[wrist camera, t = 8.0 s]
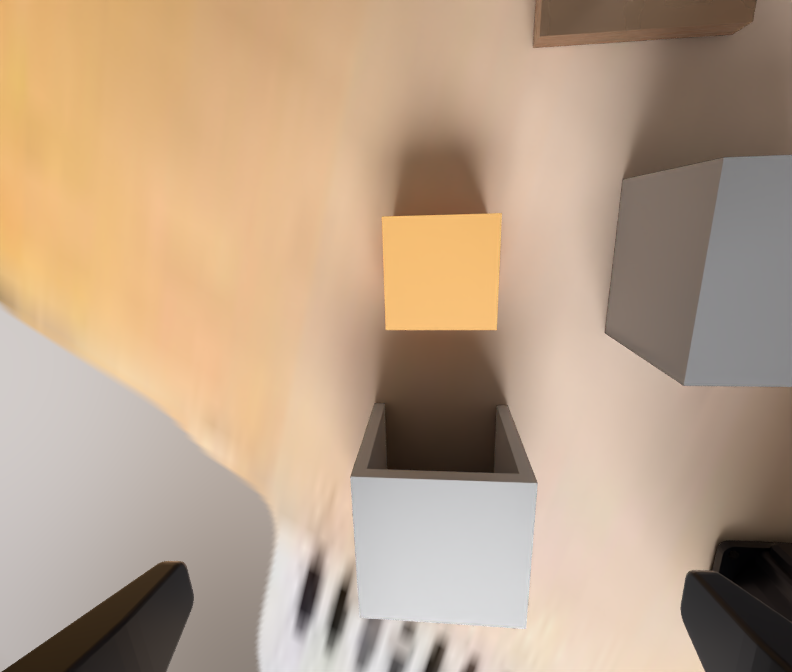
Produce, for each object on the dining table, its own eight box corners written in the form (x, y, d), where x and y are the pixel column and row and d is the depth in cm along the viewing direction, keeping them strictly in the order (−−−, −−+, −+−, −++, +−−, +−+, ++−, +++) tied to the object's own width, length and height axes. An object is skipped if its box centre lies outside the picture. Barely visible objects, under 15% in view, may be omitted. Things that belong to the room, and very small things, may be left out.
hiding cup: (501, 518, 21) (525, 628, 15) (379, 512, 22) (359, 617, 16) (507, 405, 19) (537, 483, 14) (374, 403, 20) (350, 476, 14)
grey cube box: (760, 332, 17) (920, 388, 12) (604, 333, 18) (683, 385, 12) (796, 173, 16) (1003, 146, 10) (622, 179, 16) (723, 157, 11)
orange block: (483, 306, 18) (496, 330, 15) (396, 307, 19) (385, 330, 15) (487, 214, 17) (501, 213, 13) (393, 217, 18) (381, 216, 14)
